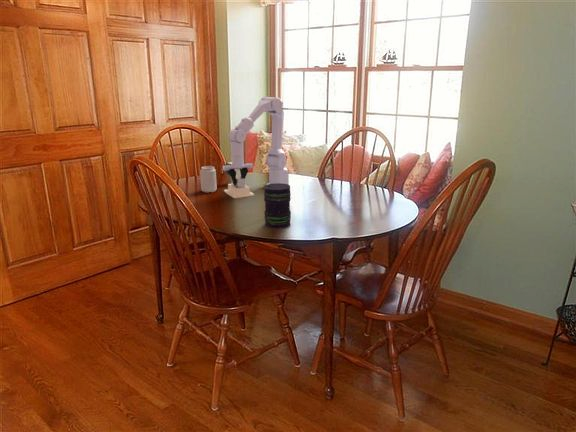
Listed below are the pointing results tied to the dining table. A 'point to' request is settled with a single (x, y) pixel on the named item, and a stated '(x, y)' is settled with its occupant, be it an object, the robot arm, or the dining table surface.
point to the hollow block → (238, 191)
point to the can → (208, 179)
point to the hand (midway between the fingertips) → (238, 184)
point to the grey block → (239, 182)
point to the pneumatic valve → (234, 169)
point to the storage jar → (277, 205)
